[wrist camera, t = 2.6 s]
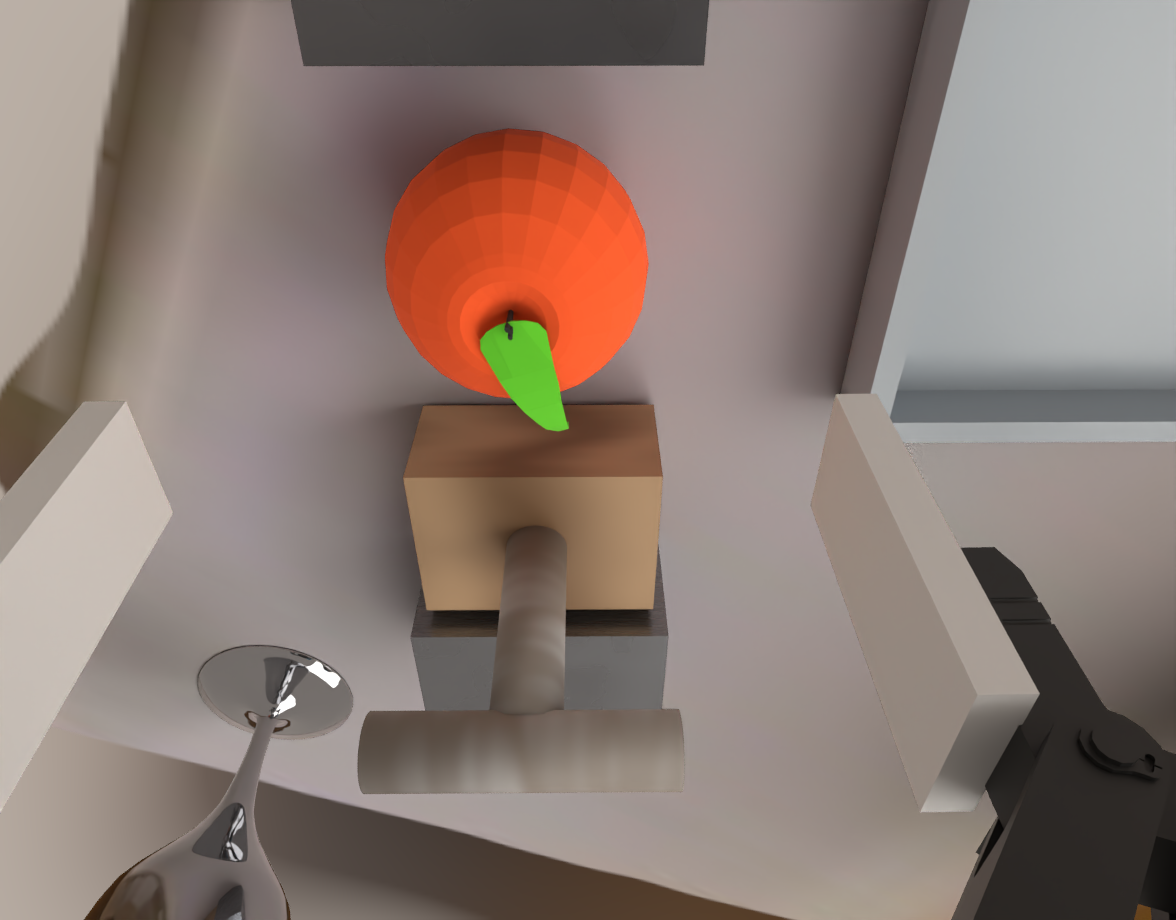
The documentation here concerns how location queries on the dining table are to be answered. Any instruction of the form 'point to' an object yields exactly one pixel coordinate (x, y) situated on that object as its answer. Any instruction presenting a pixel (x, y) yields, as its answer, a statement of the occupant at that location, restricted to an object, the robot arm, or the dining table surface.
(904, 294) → the tray
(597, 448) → the slider
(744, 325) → the dining table surface
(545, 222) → the clementine
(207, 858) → the wine glass
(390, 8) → the frame
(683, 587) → the dining table surface
